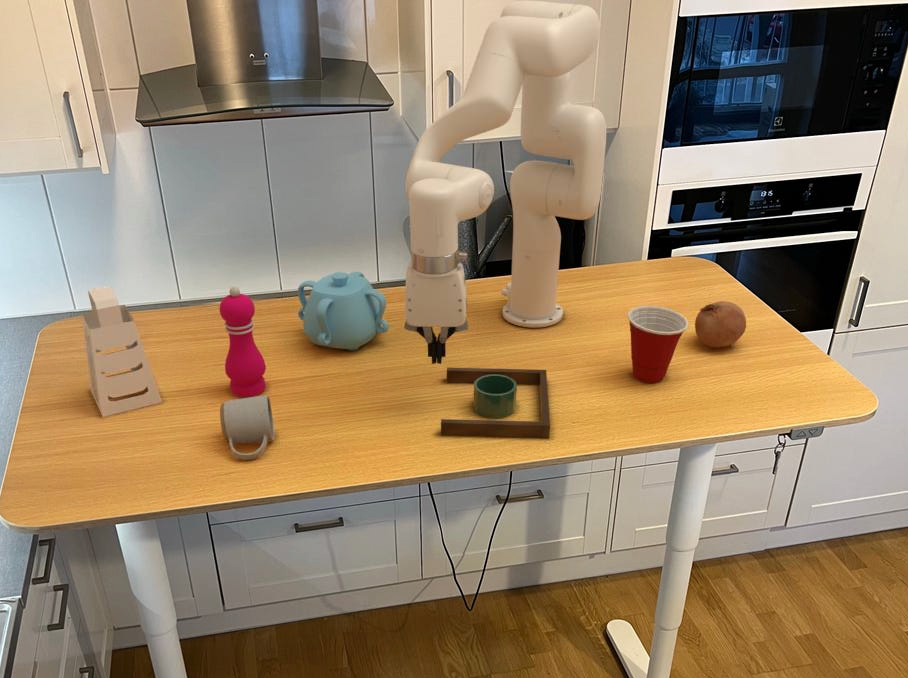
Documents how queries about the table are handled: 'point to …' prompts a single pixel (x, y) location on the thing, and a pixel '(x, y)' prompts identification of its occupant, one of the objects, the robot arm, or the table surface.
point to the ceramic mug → (247, 423)
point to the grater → (116, 355)
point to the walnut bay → (493, 426)
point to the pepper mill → (242, 346)
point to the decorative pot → (342, 311)
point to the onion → (720, 324)
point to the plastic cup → (654, 340)
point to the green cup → (495, 396)
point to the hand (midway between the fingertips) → (437, 359)
